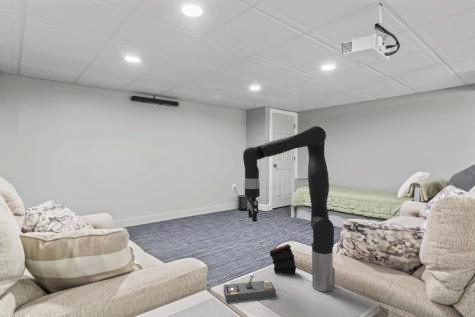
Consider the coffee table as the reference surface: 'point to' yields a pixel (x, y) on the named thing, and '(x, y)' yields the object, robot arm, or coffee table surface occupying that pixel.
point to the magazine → (283, 260)
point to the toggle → (251, 278)
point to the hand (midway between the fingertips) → (252, 219)
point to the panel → (249, 291)
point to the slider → (267, 284)
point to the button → (232, 289)
